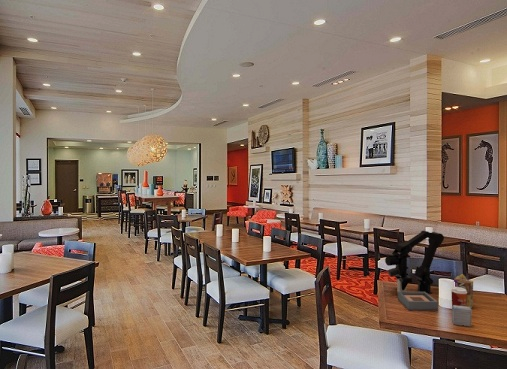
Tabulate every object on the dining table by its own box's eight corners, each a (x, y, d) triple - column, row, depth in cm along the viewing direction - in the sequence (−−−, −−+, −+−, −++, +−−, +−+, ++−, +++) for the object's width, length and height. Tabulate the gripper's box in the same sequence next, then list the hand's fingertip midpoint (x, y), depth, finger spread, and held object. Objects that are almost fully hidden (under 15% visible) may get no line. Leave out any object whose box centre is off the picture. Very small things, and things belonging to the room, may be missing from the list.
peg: (403, 292, 220) (403, 278, 220) (406, 294, 216) (406, 280, 216) (397, 292, 221) (397, 278, 220) (399, 294, 217) (399, 280, 216)
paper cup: (461, 318, 183) (461, 292, 182) (447, 313, 189) (447, 287, 189) (469, 315, 186) (470, 289, 186) (455, 310, 193) (456, 285, 192)
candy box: (473, 307, 197) (473, 280, 197) (470, 309, 195) (470, 282, 194) (456, 302, 204) (456, 277, 204) (453, 304, 202) (453, 278, 201)
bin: (424, 299, 208) (425, 291, 208) (437, 310, 192) (438, 302, 192) (397, 299, 209) (397, 291, 209) (408, 310, 193) (408, 301, 193)
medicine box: (469, 323, 177) (469, 306, 176) (471, 327, 173) (471, 310, 172) (451, 321, 179) (451, 304, 179) (453, 324, 175) (453, 308, 175)
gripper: (384, 260, 227) (383, 283, 228) (394, 268, 209) (394, 294, 209) (401, 260, 227) (400, 284, 228) (413, 268, 208) (412, 294, 209)
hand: (401, 289), depth 218 cm, fingers closed on peg, 4 cm apart
